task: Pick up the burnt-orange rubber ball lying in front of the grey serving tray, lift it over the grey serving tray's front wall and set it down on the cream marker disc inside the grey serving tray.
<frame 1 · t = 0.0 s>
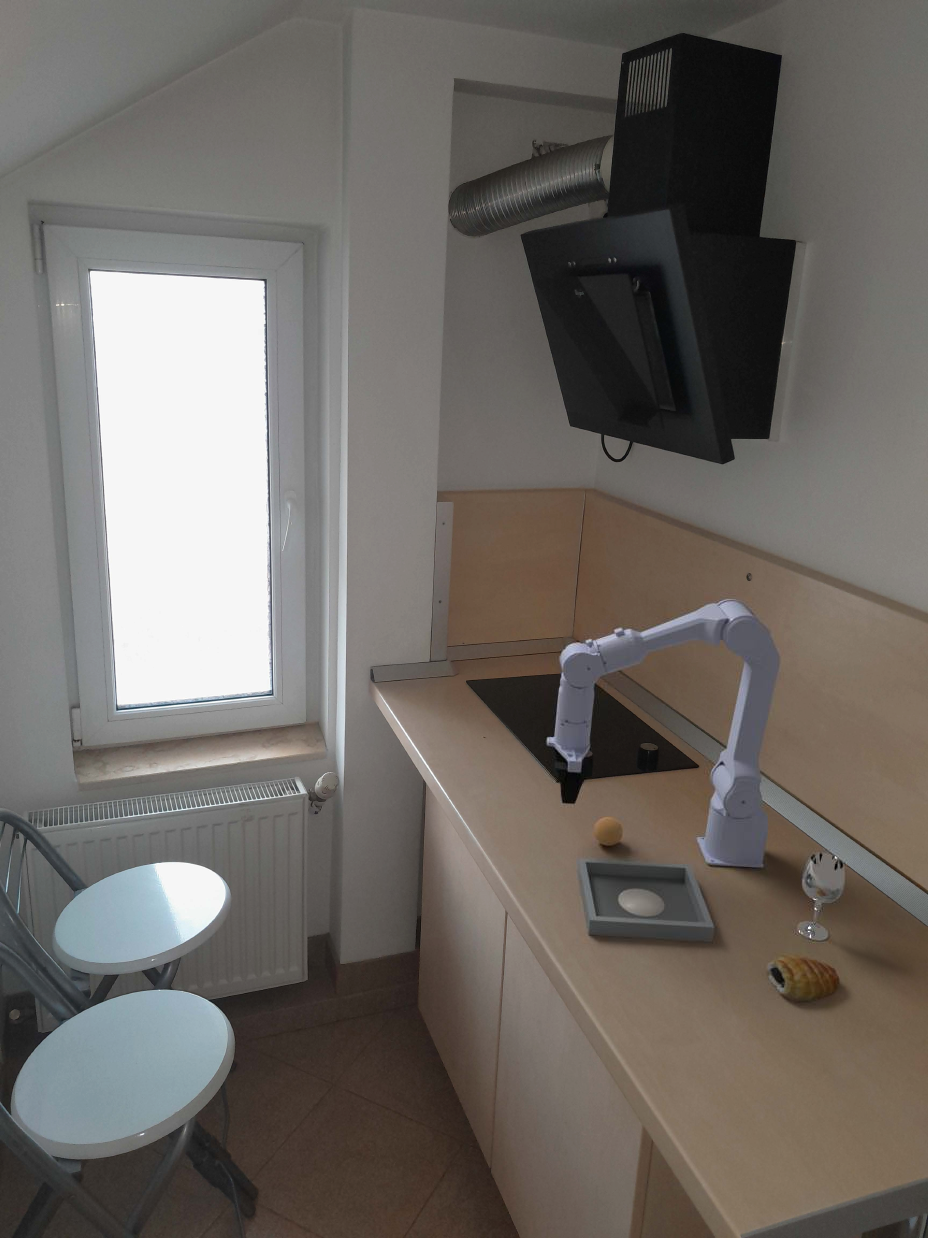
hand: (566, 791, 151), 10 cm above the table, tool pointing down, fingers open, 7 cm apart
wineglass: (812, 932, 135), on the table
grey serving tray: (640, 905, 138), on the table
pastry: (798, 987, 123), on the table
ball: (608, 831, 154), point 2 cm above the table
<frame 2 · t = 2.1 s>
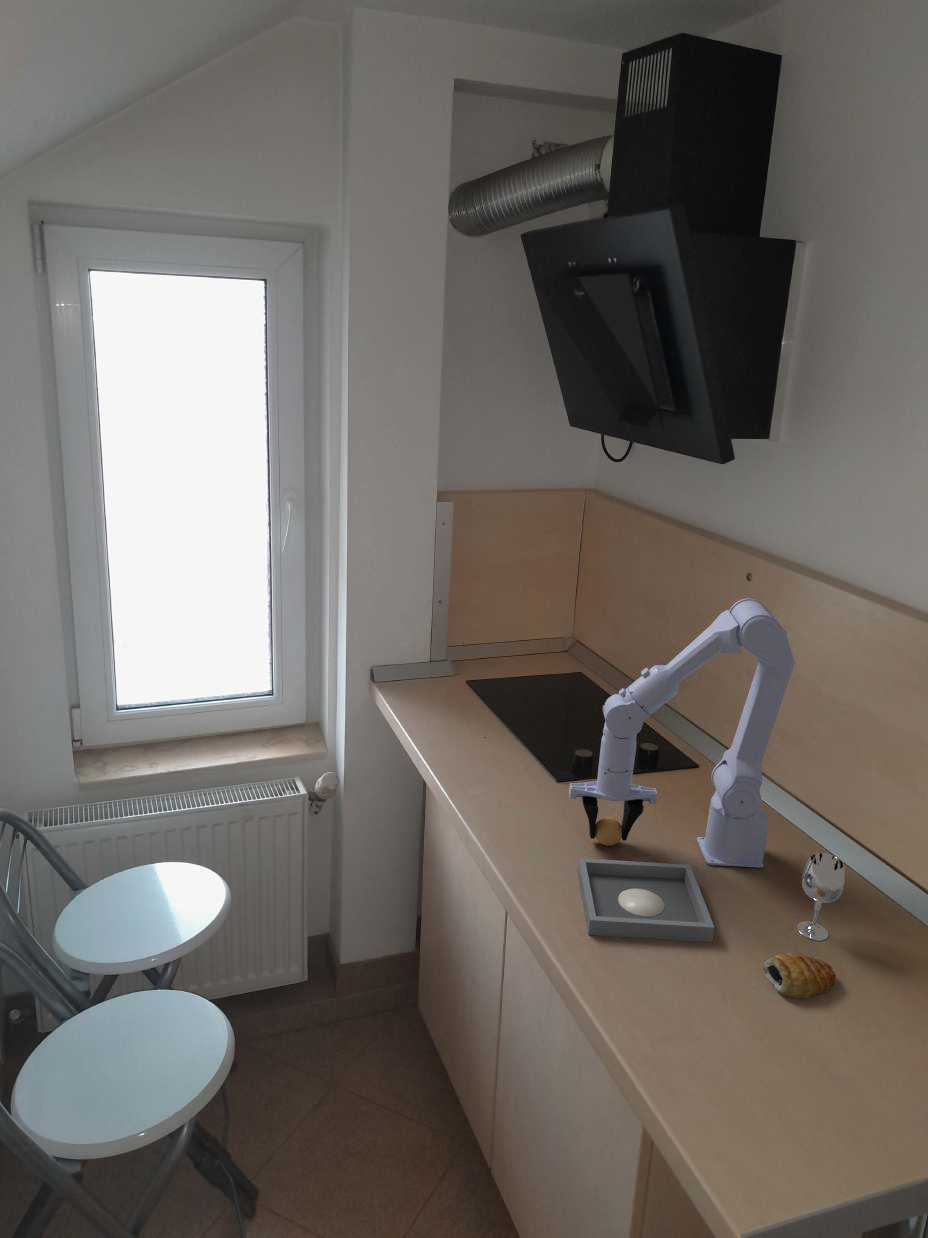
hand: (607, 836, 154), 1 cm above the table, tool pointing down, fingers closed on ball, 5 cm apart
ball: (608, 831, 154), point 2 cm above the table, touching gripper
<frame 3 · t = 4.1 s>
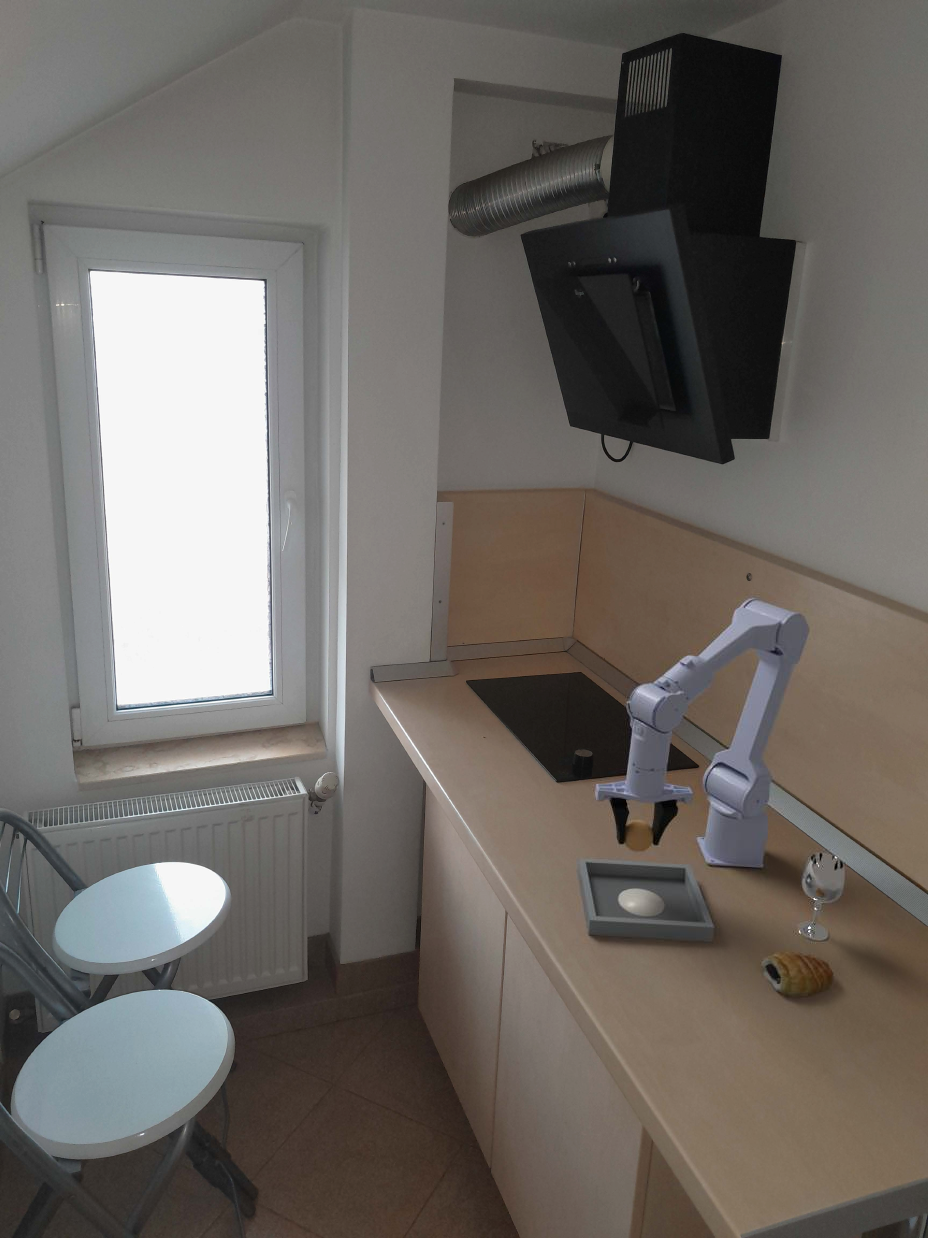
hand: (637, 841, 140), 8 cm above the table, tool pointing down, fingers closed on ball, 5 cm apart
ball: (637, 835, 140), point 9 cm above the table, touching gripper
when the fingers open (3 cm above the table, at t = 6.3 s): ball drops 1 cm, resting on grey serving tray.
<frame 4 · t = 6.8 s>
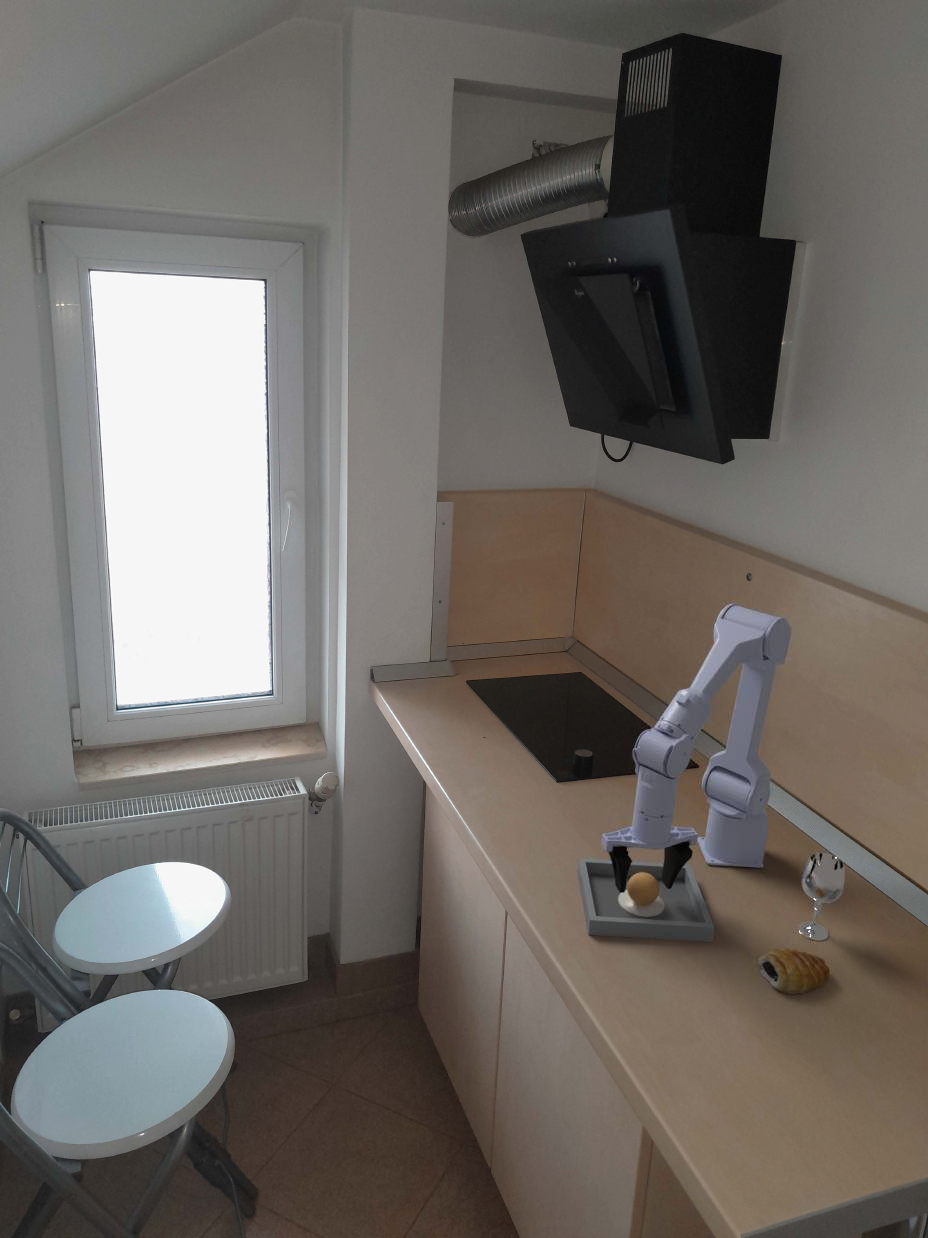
hand: (643, 887, 137), 3 cm above the table, tool pointing down, fingers open, 7 cm apart
ball: (643, 888, 138), point 3 cm above the table, touching grey serving tray
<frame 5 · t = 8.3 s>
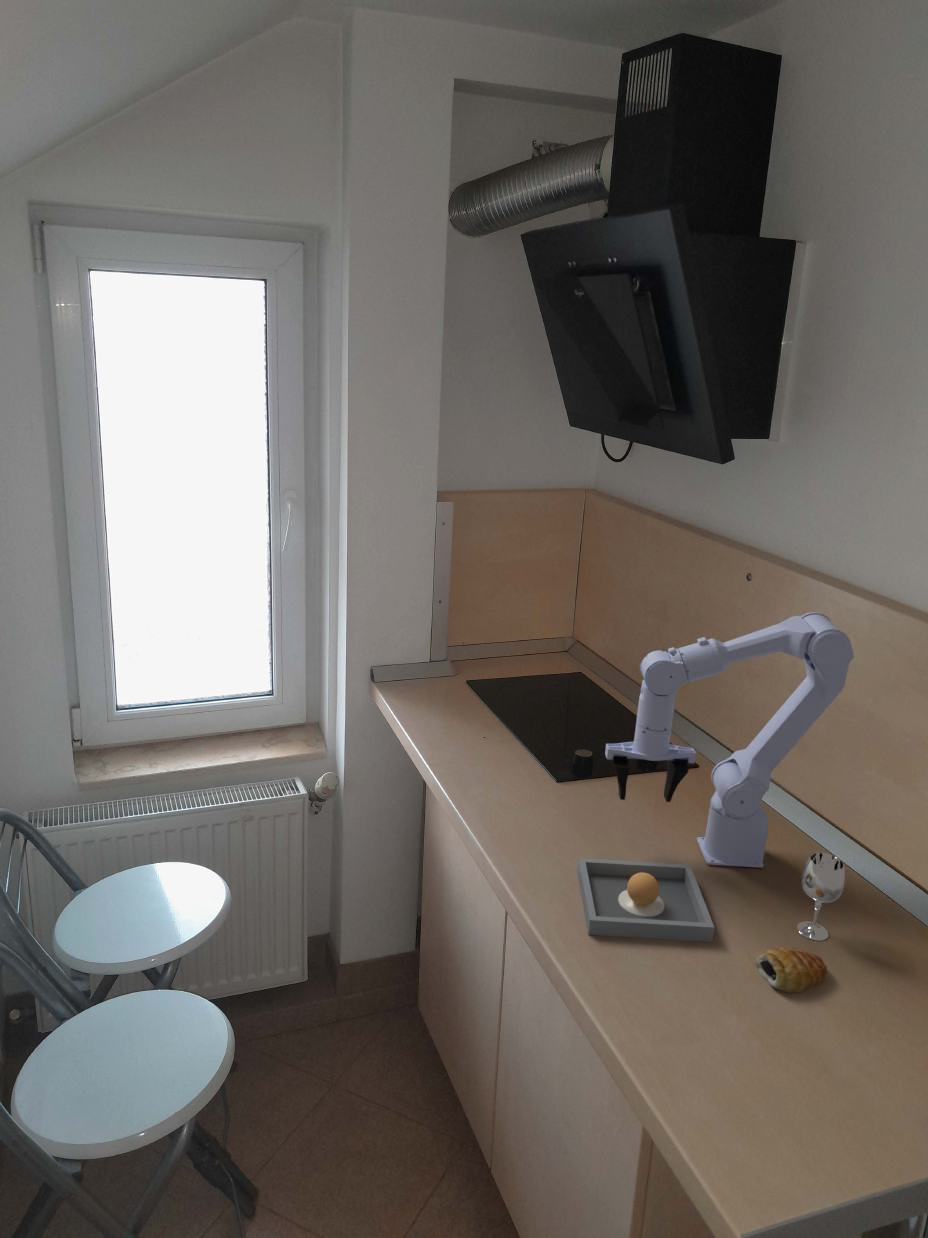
hand: (644, 798, 151), 9 cm above the table, tool pointing down, fingers open, 7 cm apart
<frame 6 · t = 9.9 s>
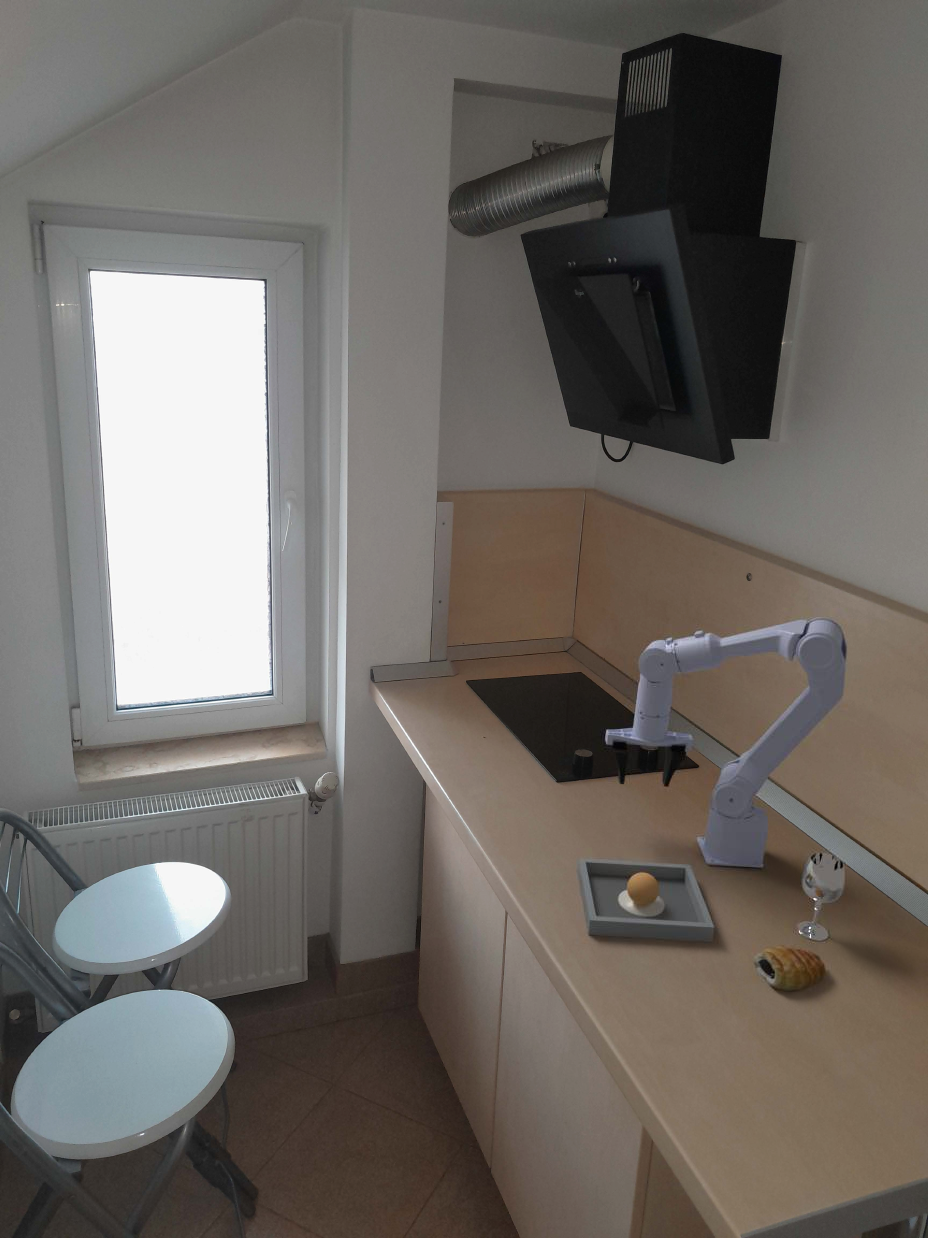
hand: (643, 782, 157), 9 cm above the table, tool pointing down, fingers open, 7 cm apart
at the end: ball inside the target area on the grey serving tray (0.0 cm from its centre), point 2.9 cm above the grey serving tray's base; the gripper is holding nothing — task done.
